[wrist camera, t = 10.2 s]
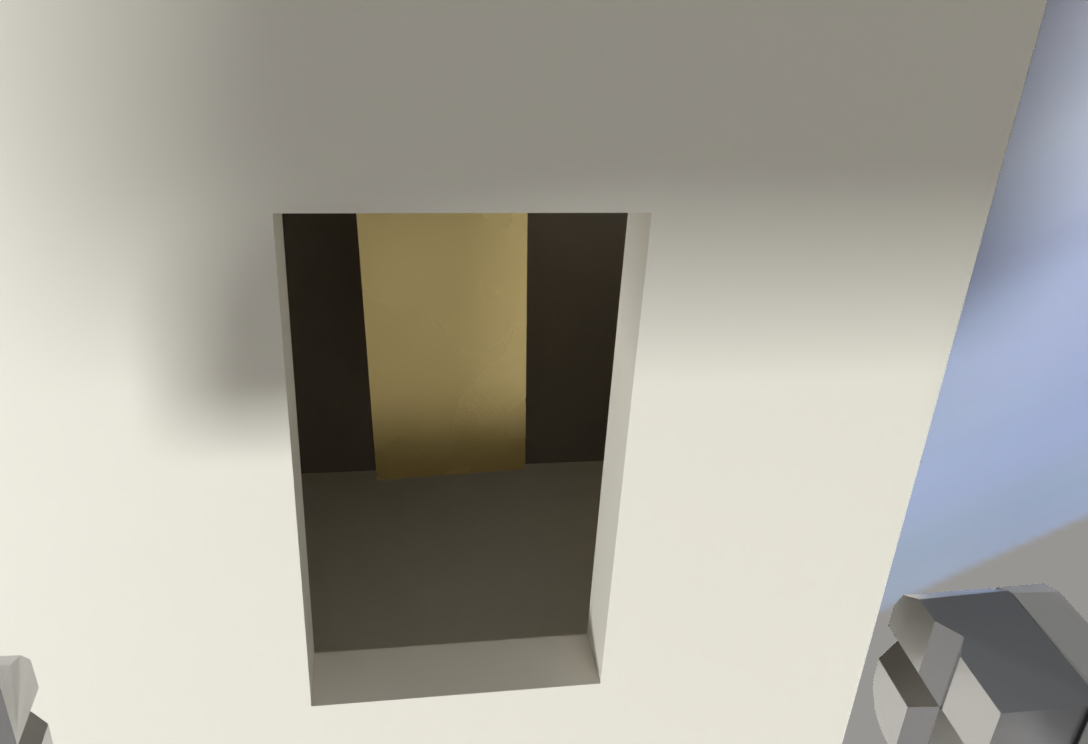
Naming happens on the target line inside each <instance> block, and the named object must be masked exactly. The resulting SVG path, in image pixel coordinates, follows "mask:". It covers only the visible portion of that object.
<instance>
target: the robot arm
mask: <svg viewBox="0 0 1088 744" xmlns="http://www.w3.org/2000/svg"><path fill="white" fill-rule="evenodd" d="M888 626H889V627H890V629H891V631H892V632H893V634H894V636H895V637H896V639H897V640H898V641H897V642H896V643H895V644H894V645H893V646H892V647H891V648H890V649H889V650H887V651H886V653H884V654H883V655H882V656H881V657H880V658H879V660H878V664H877V668H876V672H875V677H874V681H873V693H874V704H875V713H876V716H877V719H878V722H879V725H880V728H881V731H882V733H883V735H884V737H885V739H886V741H887V743H888V744H1088V623H1087V622H1086V621H1085V620H1084V619H1083V618H1082V616H1081V615H1080V614H1079V613H1078V612H1077V611H1076V610H1075V609H1074V607H1073V606H1072V605H1071V604H1070V603H1069V602H1068V601H1067V600H1066V599H1065V597H1064V596H1063V595H1062V594H1061V593H1060V592H1059V591H1057V590H1056V589H1054V588H1052V587H1050V586H1048V585H1046V584H1044V583H1043V584H1032V585H1019V586H1007V587H997V588H995V589H989V588H988V589H975V590H963V591H949V592H936V593H923V594H910V595H903V596H902V597H901V599H900V600H899V601H898V602H897V603H896V604H895V606H894V608H893V611H892V615H891V618H890V621H889V625H888ZM38 688H39V686H38V683H37V679H36V676H35V673H34V669H33V666H32V663H31V660H30V659H28V658H26V657H24V656H21V655H13V656H0V744H53V742H52V737H51V733H50V729H49V725H48V723H46V722H45V721H44V720H42V719H41V718H40V717H38V716H37V715H35V714H34V713H33V712H31V711H30V710H31V708H32V705H33V702H34V699H35V697H36V694H37V691H38Z"/></svg>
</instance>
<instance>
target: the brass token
mask: <svg viewBox="0 0 1088 744" xmlns="http://www.w3.org/2000/svg"><path fill="white" fill-rule="evenodd" d="M356 216H357V229H358V242H359V255H360V268H361V281H362V294H363V307H364V320H365V333H366V346H367V359H368V372H369V385H370V398H371V411H372V424H373V437H374V450H375V463H376V476H377V480H387V479H400V478H413V477H427V476H440V475H453V474H467V473H480V472H494V471H507V470H520V469H525V440H526V330H527V219H528V213H356Z"/></svg>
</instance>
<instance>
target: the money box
mask: <svg viewBox="0 0 1088 744" xmlns="http://www.w3.org/2000/svg"><path fill="white" fill-rule="evenodd" d="M1047 1H1048V0H0V656H13V655H21V656H24V657H26V658H28V659H30V660H31V663H32V666H33V669H34V673H35V676H36V679H37V683H38V686H39V688H38V691H37V694H36V697H35V699H34V702H33V705H32V708H31V710H30V711H31V712H33V713H34V714H35V715H37V716H38V717H40V718H41V719H42V720H44V721H45V722H46V723H48V725H49V729H50V733H51V737H52V742H53V744H842V742H843V739H844V735H845V731H846V728H847V724H848V721H849V717H850V713H851V710H852V706H853V702H854V699H855V695H856V691H857V688H858V684H859V681H860V677H861V673H862V670H863V666H864V662H865V659H866V655H867V652H868V648H869V645H870V641H871V637H872V634H873V630H874V627H875V623H876V619H877V616H878V612H879V608H880V605H881V601H882V598H883V594H884V590H885V587H886V583H887V580H888V576H889V572H890V569H891V565H892V561H893V558H894V554H895V551H896V547H897V543H898V540H899V536H900V532H901V529H902V525H903V522H904V518H905V514H906V511H907V507H908V504H909V500H910V496H911V493H912V489H913V485H914V482H915V478H916V475H917V471H918V467H919V464H920V460H921V457H922V453H923V449H924V446H925V442H926V438H927V435H928V431H929V428H930V424H931V420H932V417H933V413H934V410H935V406H936V402H937V399H938V395H939V391H940V388H941V384H942V381H943V377H944V373H945V370H946V366H947V363H948V359H949V355H950V352H951V348H952V344H953V341H954V337H955V334H956V330H957V326H958V323H959V319H960V315H961V312H962V308H963V305H964V301H965V297H966V294H967V290H968V287H969V283H970V279H971V276H972V272H973V268H974V265H975V261H976V258H977V254H978V250H979V247H980V243H981V240H982V236H983V232H984V229H985V225H986V221H987V218H988V214H989V211H990V207H991V203H992V200H993V196H994V193H995V189H996V185H997V182H998V178H999V174H1000V171H1001V167H1002V164H1003V160H1004V156H1005V153H1006V149H1007V146H1008V142H1009V138H1010V135H1011V131H1012V127H1013V124H1014V120H1015V117H1016V113H1017V109H1018V106H1019V102H1020V98H1021V95H1022V91H1023V88H1024V84H1025V80H1026V77H1027V73H1028V70H1029V66H1030V62H1031V59H1032V55H1033V51H1034V48H1035V44H1036V41H1037V37H1038V33H1039V30H1040V26H1041V23H1042V19H1043V15H1044V12H1045V8H1046V4H1047ZM356 213H528V219H527V330H526V440H525V469H520V470H507V471H494V472H480V473H467V474H453V475H440V476H427V477H413V478H400V479H387V480H377V476H376V463H375V450H374V437H373V424H372V411H371V398H370V385H369V372H368V359H367V346H366V333H365V320H364V307H363V294H362V281H361V268H360V255H359V242H358V229H357V216H356Z"/></svg>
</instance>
